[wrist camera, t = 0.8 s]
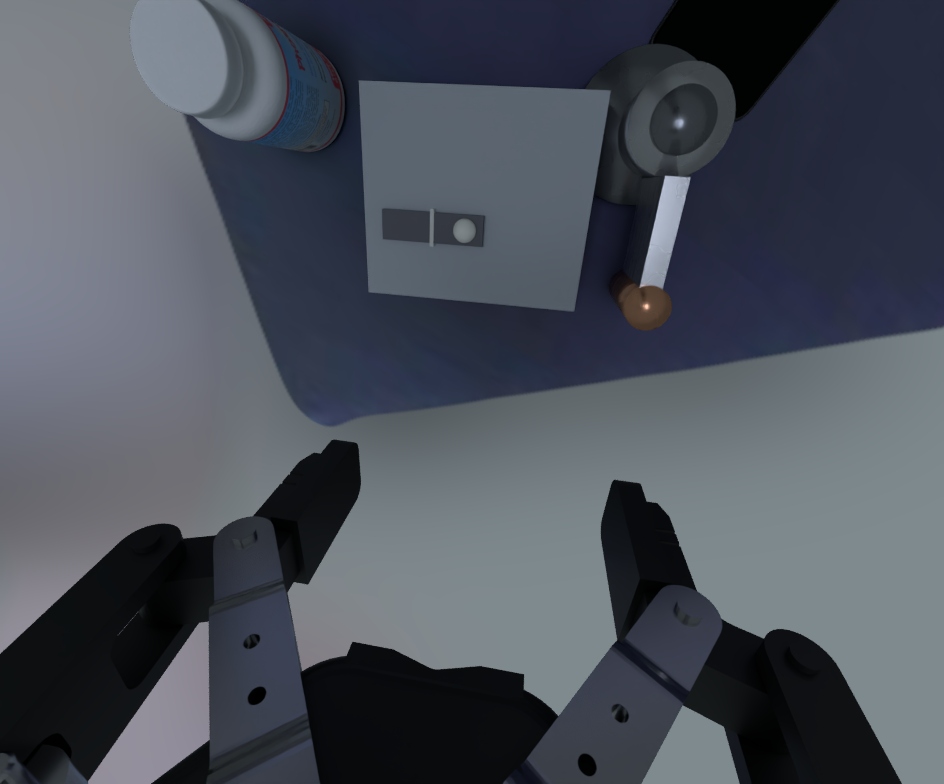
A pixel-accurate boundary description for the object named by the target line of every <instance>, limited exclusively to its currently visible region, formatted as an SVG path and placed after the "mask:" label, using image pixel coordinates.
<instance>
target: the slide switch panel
mask: <svg viewBox="0 0 944 784" xmlns="http://www.w3.org/2000/svg"><path fill="white" fill-rule="evenodd" d="M610 92H611V90H585V89H560V88H535V87H509V86H484V85H459V84H433V83H408V82H382V81H359V95H360V116H361V138H362V159H363V181H364V202H365V223H366V245H367V266H368V288H369V292H374V293H384V294H395V295H405V296H416V297H426V298H437V299H447V300H458V301H468V302H479V303H489V304H500V305H511V306H521V307H532V308H542V309H553V310H563V311H574V309H575V303H576V297H577V291H578V285H579V279H580V273H581V267H582V261H583V255H584V249H585V243H586V237H587V231H588V225H589V219H590V213H591V207H592V201H593V195H594V189H595V183H596V177H597V171H598V165H599V159H600V153H601V147H602V141H603V135H604V129H605V123H606V117H607V111H608V104H609V98H610Z"/></svg>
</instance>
